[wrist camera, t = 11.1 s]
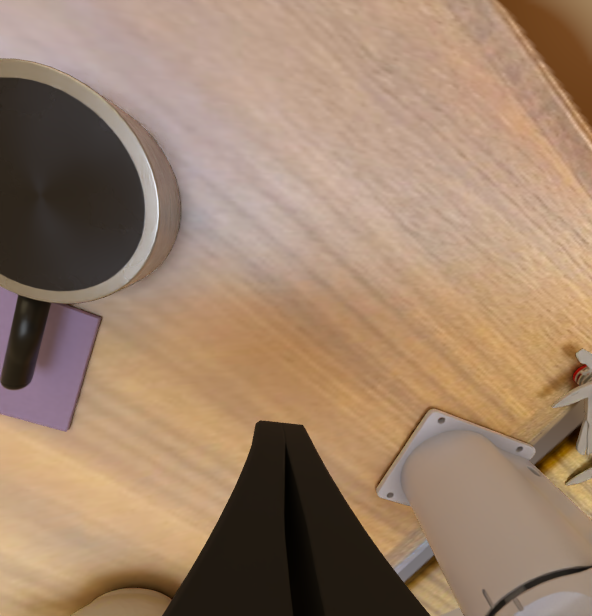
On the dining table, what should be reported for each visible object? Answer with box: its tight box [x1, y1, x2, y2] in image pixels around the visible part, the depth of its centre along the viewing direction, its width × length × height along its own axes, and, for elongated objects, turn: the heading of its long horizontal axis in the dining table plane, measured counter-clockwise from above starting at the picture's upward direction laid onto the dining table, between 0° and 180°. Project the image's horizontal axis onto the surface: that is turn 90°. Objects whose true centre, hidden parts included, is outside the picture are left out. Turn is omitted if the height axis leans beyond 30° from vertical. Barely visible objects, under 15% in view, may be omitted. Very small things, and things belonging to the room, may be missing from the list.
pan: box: [0, 59, 181, 390], centre depth 14 cm, size 9×15×3 cm, turn 155°
